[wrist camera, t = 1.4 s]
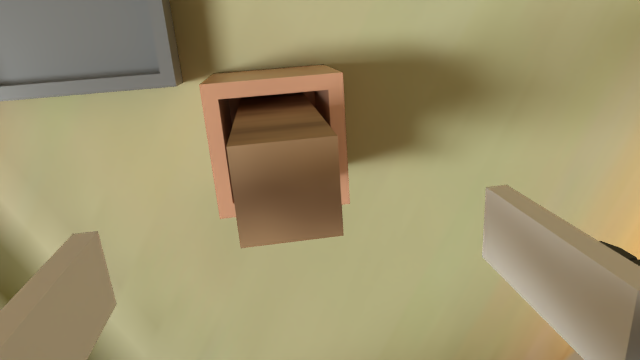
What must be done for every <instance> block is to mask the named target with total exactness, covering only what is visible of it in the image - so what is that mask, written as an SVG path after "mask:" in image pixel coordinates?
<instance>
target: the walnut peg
mask: <svg viewBox="0 0 640 360" xmlns="http://www.w3.org/2000/svg"><path fill="white" fill-rule="evenodd" d="M226 148H227V155H228V162H229V169H230V176H231V183H232V190H233V197H234V204H235V211H236V218H237V225H238V232H239V239H240V247H241V248H246V247H254V246H262V245H270V244H278V243H286V242H295V241H303V240H311V239H319V238H327V237H335V236H343V219H342V203H341V186H340V169H339V153H338V136H337V134H336V133H335V132H334V131H333V130H332V128H331V127H330V126H329V125H328V123H327V122H326V121H325V120H324V118H323V117H322V116H321V115H320V113H319V112H318V111H317V110H316V108H315V107H314V106H313V105H312V103H311V102H310V101H309V100H308V99H307V97H306V96H305V95H304V94H303V92H300V93H289V94H278V95H267V96H255V97H244V98H241V99H240V103H239V106H238V109H237V113H236V116H235V119H234V123H233V126H232V129H231V133H230V136H229V139H228V143H227V146H226Z"/></svg>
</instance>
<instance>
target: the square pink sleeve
mask: <svg viewBox="0 0 640 360" xmlns="http://www.w3.org/2000/svg"><path fill="white" fill-rule="evenodd" d="M199 86H200V93H201V99H202V106H203V112H204V119H205V125H206V132H207V138H208V145H209V151H210V157H211V164H212V170H213V177H214V183H215V190H216V196H217V203H218V209H219V215H220V219H222V218H231V217H236V211H235V204H234V197H233V190H232V183H231V176H230V169H229V162H228V155H227V148H226V146H227V143H228V139H229V136H230V133H231V129H232V126H233V123H234V119H235V116H236V113H237V109H238V106H239V103H240V99H241V98H244V97H255V96H267V95H278V94H289V93H300V92H303V94H304V95H305V96H306V97H307V99H308V100H309V101H310V102H311V103H312V105H313V106H314V107H315V108H316V110H317V111H318V112H319V113H320V115H321V116H322V117H323V118H324V120H325V121H326V122H327V123H328V125H329V126H330V127H331V128H332V130H333V131H334V132H335V133H336V134H337V136H338V153H339V169H340V186H341V203H342V205H343V204H350V198H349V179H348V161H347V142H346V123H345V105H344V86H343V72H340V71H338V70H336V69H333V68H331V67H328V66H326V65H311V66H299V67H287V68H275V69H263V70H250V71H238V72H226V73H214V74H212V75H211V76H210V77H208V78H207V79H206V80H204V81H203V82H202V83H201V84H199Z"/></svg>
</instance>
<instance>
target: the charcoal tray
mask: <svg viewBox="0 0 640 360" xmlns="http://www.w3.org/2000/svg"><path fill="white" fill-rule="evenodd" d="M181 83H183V80H182V74H181V68H180V62H179V56H178V50H177V44H176V38H175V32H174V26H173V20H172V14H171V8H170V2H169V0H0V101H9V100H21V99H33V98H44V97H56V96H68V95H80V94H92V93H103V92H115V91H127V90H139V89H151V88H162V87H174V86H178V85H179V84H181Z"/></svg>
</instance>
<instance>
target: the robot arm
mask: <svg viewBox="0 0 640 360" xmlns="http://www.w3.org/2000/svg"><path fill="white" fill-rule="evenodd" d="M482 257H483V258H484V259H485V260H486V261H487V262H488V263H489V264H490V265H491V266H492V267H493V268H494V269H495V270H496V271H497V272H498V273H499V274H500V275H501V276H502V277H503V278H504V279H505V280H506V281H507V282H508V283H509V284H510V285H511V286H512V287H513V288H514V289H515V290H516V292H517V293H518V294H519V295H520V296H521V297H522V298H523V299H524V300H525V301H526V302H527V303H528V304H529V305H530V306H531V307H532V308H533V309H534V310H535V311H536V312H537V313H538V314H539V315H540V316H541V317H542V318H543V319H544V320H545V321H546V322H547V323H548V324H549V325H550V326H551V327H552V328H553V329H554V330H555V331H556V332H557V333H558V334H559V335H560V336H561V337H562V338H563V339H564V340H565V341H566V342H567V343H568V344H569V345H570V346H571V347H572V348H573V349H574V350H575V351H576V352H577V353H578V354H579V355H580V356H581V357H582V358H583V359H584V360H640V260H637V258H636V257H635V256H633V255H631V254H630V253H628V252H626V251H625V250H623V249H621V248H619V247H616V246H613V245H610V244H608V243H605V242H602V241H597V240H596V239H594V238H593V237H591V236H589V235H588V234H586V233H584V232H583V231H581V230H580V229H578V228H576V227H575V226H573V225H571V224H570V223H568V222H566V221H565V220H563V219H562V218H560V217H558V216H557V215H555V214H553V213H552V212H550V211H549V210H547V209H545V208H544V207H542V206H540V205H539V204H537V203H535V202H534V201H532V200H531V199H529V198H527V197H526V196H524V195H522V194H521V193H519V192H518V191H516V190H514V189H513V188H511V187H509V186H508V185H501V186H492V187H486V196H485V214H484V233H483V252H482ZM115 306H116V300H115V296H114V292H113V288H112V284H111V281H110V277H109V273H108V269H107V265H106V261H105V257H104V253H103V249H102V245H101V241H100V238H99V234H98V231H94V232H85V233H77V234H73V235H72V236H71V237H70V238H69V239H68V240H67V241H66V242H65V243H64V244H63V245H62V246H61V247H60V248H59V249H58V250H57V251H56V252H55V254H54V255H53V256H52V257H51V258H50V259H49V260H48V261H47V262H46V263H45V264H44V265H43V266H42V267H41V268H40V269H39V270H38V272H37V273H36V274H35V275H34V276H33V277H32V278H31V279H30V280H29V281H28V282H27V283H26V284H25V285H24V286H23V287H22V288H21V290H20V291H19V292H18V293H17V294H16V295H15V296H14V297H13V298H12V299H11V300H10V301H9V302H8V303H7V304H6V305H5V306H4V307H3V309H2V310H1V311H0V360H87V358H88V356H89V354H90V353H91V351H92V349H93V347H94V345H95V343H96V341H97V339H98V338H99V336H100V334H101V332H102V330H103V328H104V326H105V325H106V323H107V321H108V319H109V317H110V315H111V313H112V312H113V310H114V308H115Z"/></svg>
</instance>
